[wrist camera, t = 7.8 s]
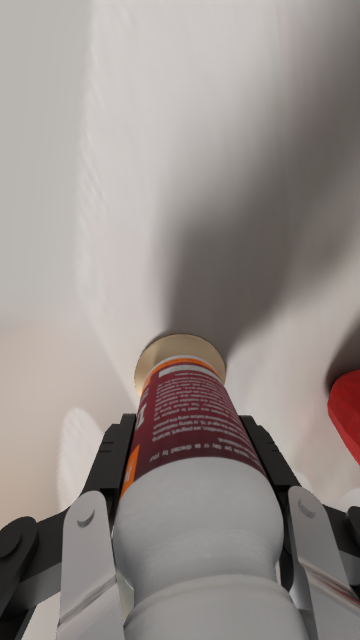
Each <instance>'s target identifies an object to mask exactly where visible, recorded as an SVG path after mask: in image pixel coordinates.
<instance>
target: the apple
mask: <svg viewBox="0 0 360 640" xmlns="http://www.w3.org/2000/svg"><path fill="white" fill-rule="evenodd" d="M327 406H328V414H329V417H330V419H331V420H332V422H333V424H334V426H335V427H336V429H337V431H338V433H339V434H340V436H341V438H342V440H343V442H344V443H345V445H346V447H347V448H348V450H349V451H350V453H351V454H352V456H353V457H354V459H355V460H356V461H357V463H358V464H359V465H360V370H356V371H352V372H348V373H344V374H343V375H341V376H340V377H339V378H337V380H336V381H335V383H334V384H333V386H332V389H331V392H330V396H329V400H328V403H327Z"/></svg>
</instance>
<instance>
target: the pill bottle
mask: <svg viewBox="0 0 360 640" xmlns="http://www.w3.org/2000/svg"><path fill="white" fill-rule="evenodd" d="M283 540H284V526H283V518H282V513H281V510H280V506H279V503H278V501H277V499H276V496H275V494H274V491H273V489H272V487H271V485H270V482H269V480H268V478H267V476H266V474H265V472H264V470H263V468H262V465H261V463H260V461H259V459H258V457H257V455H256V453H255V451H254V448H253V446H252V444H251V442H250V440H249V438H248V436H247V434H246V431H245V429H244V427H243V425H242V423H241V421H240V419H239V416H238V414H237V412H236V410H235V408H234V406H233V404H232V402H231V399H230V397H229V395H228V393H227V391H226V389H225V387H224V385H223V382H222V380H221V378H220V377H219V375H218V373H217V372H216V370H215V369H214V368H213V367H212V366H211V365H210V364H209V363H208V362H206V361H205V360H203V359H201V358H199V357H196V356H191V355H178V356H173V357H169V358H167V359H165V360H163V361H161V362H159V363H158V364H157V365H156V366H154V367H153V368H152V370H151V371H150V372H149V374H148V375H147V377H146V379H145V382H144V386H143V389H142V394H141V399H140V405H139V409H138V413H137V418H136V423H135V428H134V433H133V438H132V442H131V447H130V452H129V456H128V461H127V466H126V470H125V475H124V479H123V484H122V489H121V494H120V498H119V502H118V507H117V513H116V518H115V523H114V530H113V549H114V555H115V560H116V563H117V567H118V569H119V571H120V573H121V575H122V577H123V578H124V580H125V581H126V583H127V584H128V585H129V586H130V587H131V588H132V589H133V590H134V609H133V610H132V611H131V612H130V613H129V615H128V617H127V619H126V620H125V623H124V625H123V629H124V637H125V640H310V639H309V636H308V633H307V630H306V628H305V624H304V622H303V619H302V616H301V614H300V612H299V610H298V609H297V608H296V607H295V606H294V602H293V600H292V598H291V596H290V594H289V593H288V592H287V591H286V589H285V588H283V587H282V586H280V585H279V584H278V583H277V580H276V576H275V572H274V567H275V566H276V564H277V562H278V560H279V557H280V554H281V551H282V546H283Z"/></svg>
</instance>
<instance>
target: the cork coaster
mask: <svg viewBox="0 0 360 640" xmlns="http://www.w3.org/2000/svg"><path fill="white" fill-rule="evenodd" d="M178 355H191V356H196V357H199V358H201V359H203V360H205V361H206V362H208V363H209V364H210V365H211V366H212V367H213V368H214V369H215V370H216V372H217V373H218V375H219V377H220V378H221V380H222V382H223V385H224V383H225V378H226V370H225V365H224V362H223V360H222V358H221V356H220V355H219V353H218V351H217V350H216V349H215V348H214V347H213V346H212V345H211V344H210V343H209V342H207V341H206V340H204V339H202V338H200V337H197V336H194V335H189V334H174V335H169V336H165V337H163V338H160V339H158V340H157V341H155V342H153V343H152V344H151V345H149V346H148V347H147V348H146V349H145V351H144V352H143V353H142V355H141V356H140V358H139V360H138V363H137V366H136V369H135V376H134V381H135V387H136V390H137V392H138V394H139V396H140V398H141V394H142V389H143V386H144V382H145V379H146V377H147V375H148V374H149V372H150V371H151V370H152V368H153V367H154V366H156V365H157V364H158V363H159V362H161V361H163V360H165V359H167V358H169V357H173V356H178Z"/></svg>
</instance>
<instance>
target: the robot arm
mask: <svg viewBox="0 0 360 640" xmlns="http://www.w3.org/2000/svg"><path fill="white" fill-rule="evenodd" d="M238 416H239V419H240V421H241V423H242V425H243V427H244V429H245V431H246V434H247V436H248V438H249V440H250V442H251V444H252V446H253V448H254V451H255V453H256V455H257V457H258V459H259V461H260V463H261V465H262V468H263V470H264V472H265V474H266V476H267V478H268V480H269V482H270V485H271V487H272V489H273V491H274V494H275V496H276V499H277V501H278V503H279V506H280V510H281V513H282V518H283V526H284V540H283V546H282V551H281V554H280V557H279V560H278V562H277V564H276V575H277V583H278V584H279V585H280V586H282V587H283V588H285V589H286V591H287V592H288V593H289V594H290V596H291V598H292V600H293V602H294V606H295V607H296V608H297V609H298V610H299V612H300V614H301V616H302V619H303V622H304V624H305V628H306V630H307V633H308V636H309V639H310V640H360V507H356V506H352V507H350V508H349V510H348V511H347V513H345V512H342V511H339V510H336V509H333V508H331V507H328V506H325V505H323V504H321V502H320V501H319V500H318V499H317V498H316V497H315V496H314V495H313V494H312V493H311V492H310V491H308V490H307V489H305V488H303V487H302V486H301V485H300V483H299V482H298V480H297V478H296V477H295V475H294V473H293V472H292V470H291V468H290V467H289V465H288V464H287V462H286V460H285V459H284V457H283V455H282V454H281V452H279V449H278V447H277V446H276V444H275V442H274V441H273V439H272V438H271V436H270V434H269V433H268V432H267V431H266V430H265V429H264V428H263V427H262V426H261V425H257V424H256V423H255V421H254V419H253V417H252V416H248V415H238ZM135 423H136V414H123V416H122V419H121V422H120V424H112V425H111V426H110V427H109V429H108V430H107V431H106V432H105V434H104V437H103V440H102V442H101V445H100V447H99V450H98V453H97V455H96V458H95V460H94V463H93V465H92V468H91V470H90V473H89V476H88V478H87V481H86V483H85V486H84V488H83V490H82V492H81V494H80V495H79V497H78V498H77V499H76V500H75V501H74V503H73V504H72V505H71V506H70V507H68V508H67V509H66V510H64V511H63V512H61V513H59V514H57V515H54V516H52V517H49V518H47V519H45V520H42V521H40V522H38V523H36V521H35V519H34V518H32V517H29V516H26V517H21V518H18V519H16V520H14V521H12V522H11V523H9V524H8V525H6V526H5V527H4V528H2V529H1V531H0V640H21V639H22V637H23V634H24V632H25V630H26V628H27V626H28V624H29V621H30V619H31V617H32V615H33V613H34V610H35V608H36V606H37V604H39V603H41V602H42V601H44V600H46V599H48V598H49V597H51V596H53V595H54V594H56V593H58V592H60V591H61V597H60V617H59V623H58V626H57V632H56V640H125V637H124V629H123V622H122V614H121V607H120V599H119V592H118V585H117V579H116V575H115V569H114V561H113V553H112V546H111V534H112V530H113V525H114V523H115V518H116V513H117V507H118V502H119V498H120V494H121V489H122V484H123V479H124V475H125V470H126V466H127V461H128V456H129V452H130V447H131V442H132V438H133V433H134V428H135Z"/></svg>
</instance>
